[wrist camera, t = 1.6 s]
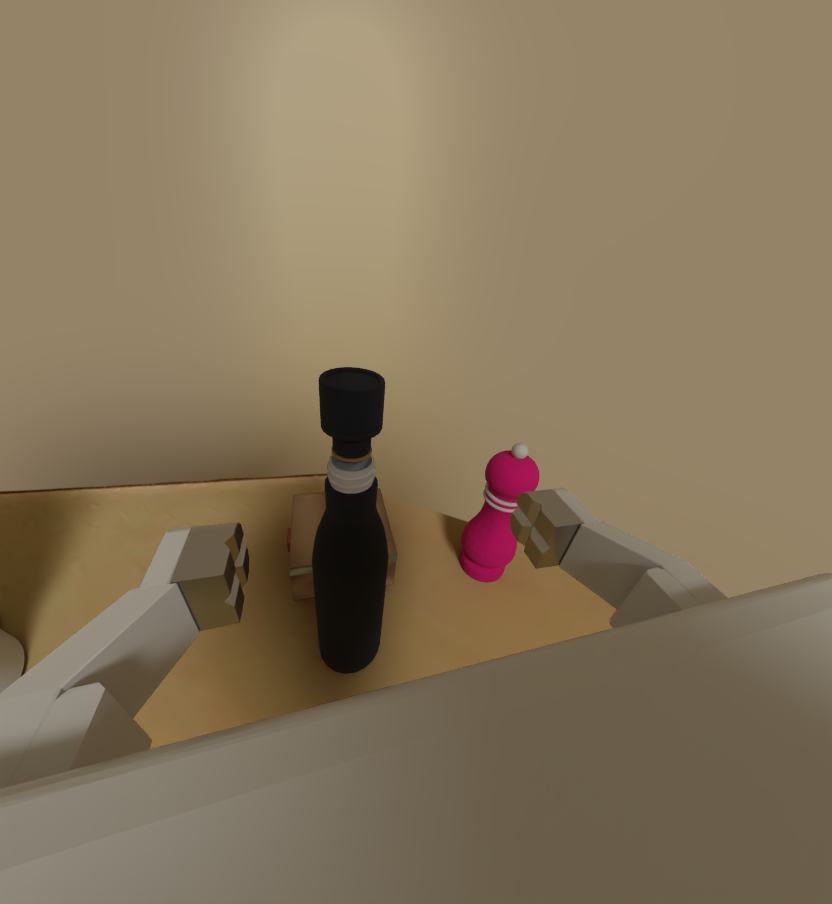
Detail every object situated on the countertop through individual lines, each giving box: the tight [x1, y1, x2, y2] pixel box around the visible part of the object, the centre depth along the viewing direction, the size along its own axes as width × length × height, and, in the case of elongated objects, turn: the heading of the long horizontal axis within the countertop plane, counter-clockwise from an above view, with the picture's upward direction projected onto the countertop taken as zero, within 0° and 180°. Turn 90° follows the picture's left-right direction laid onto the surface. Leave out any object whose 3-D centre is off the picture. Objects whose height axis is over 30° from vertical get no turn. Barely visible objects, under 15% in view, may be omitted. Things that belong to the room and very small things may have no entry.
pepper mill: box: [460, 443, 539, 582], centre depth 41 cm, size 7×7×20 cm
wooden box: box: [287, 489, 397, 600], centre depth 43 cm, size 13×13×6 cm
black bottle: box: [312, 367, 389, 674], centre depth 27 cm, size 6×6×30 cm
